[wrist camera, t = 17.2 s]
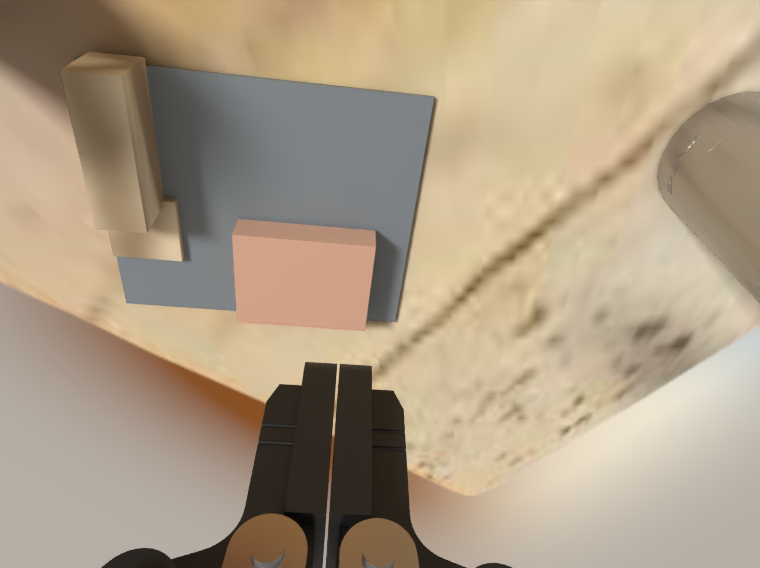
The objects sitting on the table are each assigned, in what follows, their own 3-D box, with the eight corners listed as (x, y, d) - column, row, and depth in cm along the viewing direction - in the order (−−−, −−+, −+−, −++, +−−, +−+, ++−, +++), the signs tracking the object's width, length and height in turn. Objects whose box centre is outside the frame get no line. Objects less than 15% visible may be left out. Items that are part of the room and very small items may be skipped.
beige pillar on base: (160, 58, 33) (138, 78, 29) (184, 257, 41) (169, 288, 38) (73, 49, 32) (41, 68, 29) (116, 251, 41) (95, 283, 38)
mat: (433, 96, 35) (434, 97, 34) (394, 319, 46) (395, 322, 46) (76, 57, 33) (74, 58, 32) (127, 300, 44) (126, 303, 44)
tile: (238, 216, 39) (375, 228, 40) (242, 302, 44) (364, 310, 45) (232, 234, 37) (375, 246, 38) (237, 322, 42) (364, 331, 43)
